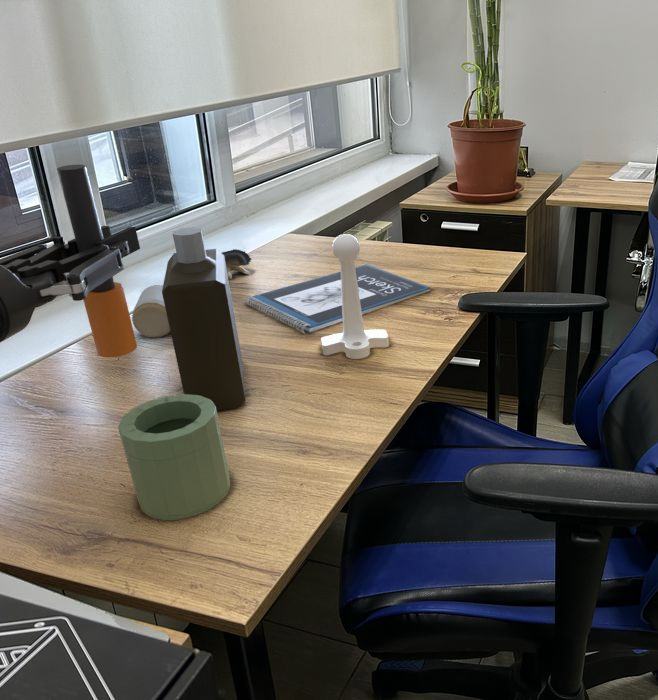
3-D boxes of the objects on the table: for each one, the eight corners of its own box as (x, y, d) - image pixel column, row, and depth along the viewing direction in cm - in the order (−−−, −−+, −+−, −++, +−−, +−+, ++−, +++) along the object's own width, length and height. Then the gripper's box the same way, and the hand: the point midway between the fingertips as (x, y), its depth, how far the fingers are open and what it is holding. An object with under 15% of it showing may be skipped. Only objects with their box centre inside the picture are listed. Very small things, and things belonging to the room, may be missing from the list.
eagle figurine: (214, 282, 148) (255, 268, 151) (200, 252, 148) (242, 237, 151) (215, 291, 155) (255, 276, 158) (202, 261, 155) (241, 248, 158)
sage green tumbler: (122, 518, 81) (98, 436, 76) (170, 466, 90) (152, 391, 85) (204, 527, 79) (185, 444, 75) (245, 474, 88) (231, 397, 84)
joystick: (385, 338, 124) (377, 227, 116) (393, 356, 118) (385, 240, 109) (321, 346, 122) (308, 234, 113) (325, 365, 115) (312, 247, 106)
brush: (89, 356, 84) (38, 170, 75) (112, 341, 88) (66, 162, 79) (123, 358, 84) (76, 171, 74) (144, 343, 88) (102, 163, 78)
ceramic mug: (134, 342, 124) (125, 301, 121) (144, 324, 132) (136, 285, 128) (197, 337, 126) (190, 297, 123) (203, 319, 134) (197, 281, 130)
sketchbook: (431, 293, 144) (430, 284, 144) (305, 337, 125) (304, 327, 125) (366, 269, 158) (365, 260, 157) (244, 305, 139) (243, 295, 138)
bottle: (243, 363, 116) (217, 214, 105) (246, 410, 102) (217, 244, 92) (191, 371, 114) (160, 219, 103) (188, 420, 100) (151, 251, 89)
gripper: (-93, 343, 68) (71, 263, 88) (55, 353, 65) (187, 269, 86) (-122, 268, 64) (55, 204, 85) (32, 277, 62) (176, 208, 83)
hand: (121, 237), depth 85 cm, fingers closed on brush, 3 cm apart
